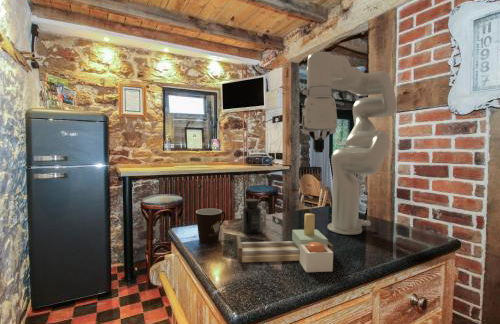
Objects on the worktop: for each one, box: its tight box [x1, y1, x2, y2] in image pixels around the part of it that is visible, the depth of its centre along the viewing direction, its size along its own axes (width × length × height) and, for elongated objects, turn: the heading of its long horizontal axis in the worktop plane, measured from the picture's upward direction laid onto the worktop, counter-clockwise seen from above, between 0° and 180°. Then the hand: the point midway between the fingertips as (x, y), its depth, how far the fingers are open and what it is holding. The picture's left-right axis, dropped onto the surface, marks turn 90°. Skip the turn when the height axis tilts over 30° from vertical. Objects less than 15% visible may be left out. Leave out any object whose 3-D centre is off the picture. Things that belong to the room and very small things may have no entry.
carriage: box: [291, 212, 329, 249], centre depth 82 cm, size 8×9×9 cm
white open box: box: [299, 244, 334, 273], centre depth 73 cm, size 7×6×5 cm
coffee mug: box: [195, 207, 226, 245], centre depth 92 cm, size 12×9×10 cm
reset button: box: [308, 242, 324, 252], centre depth 73 cm, size 4×4×3 cm
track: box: [236, 235, 334, 263], centre depth 82 cm, size 27×10×4 cm, turn 96°
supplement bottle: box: [242, 198, 262, 235], centre depth 102 cm, size 7×7×12 cm
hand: (318, 152), depth 88 cm, fingers closed
